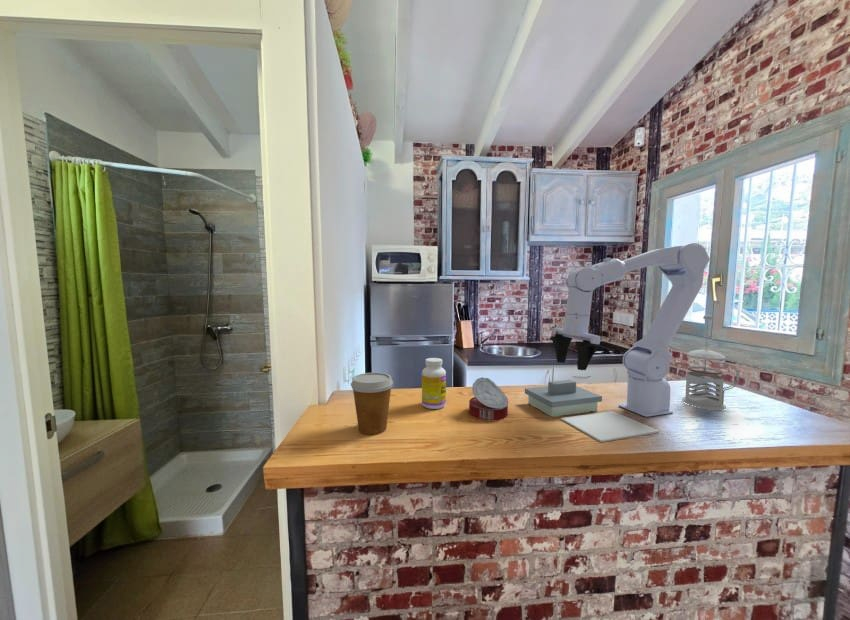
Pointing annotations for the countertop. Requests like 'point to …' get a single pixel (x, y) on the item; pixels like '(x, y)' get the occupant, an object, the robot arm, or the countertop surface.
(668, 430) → the countertop surface
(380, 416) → the disposable coffee cup
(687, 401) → the french press
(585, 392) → the lid
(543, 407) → the storage box
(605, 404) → the countertop surface
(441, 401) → the supplement bottle
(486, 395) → the canned food
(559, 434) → the countertop surface
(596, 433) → the mat
